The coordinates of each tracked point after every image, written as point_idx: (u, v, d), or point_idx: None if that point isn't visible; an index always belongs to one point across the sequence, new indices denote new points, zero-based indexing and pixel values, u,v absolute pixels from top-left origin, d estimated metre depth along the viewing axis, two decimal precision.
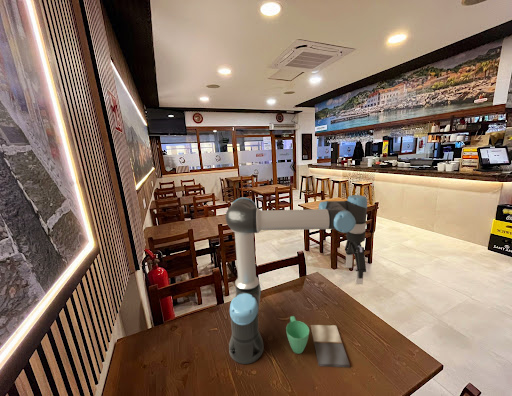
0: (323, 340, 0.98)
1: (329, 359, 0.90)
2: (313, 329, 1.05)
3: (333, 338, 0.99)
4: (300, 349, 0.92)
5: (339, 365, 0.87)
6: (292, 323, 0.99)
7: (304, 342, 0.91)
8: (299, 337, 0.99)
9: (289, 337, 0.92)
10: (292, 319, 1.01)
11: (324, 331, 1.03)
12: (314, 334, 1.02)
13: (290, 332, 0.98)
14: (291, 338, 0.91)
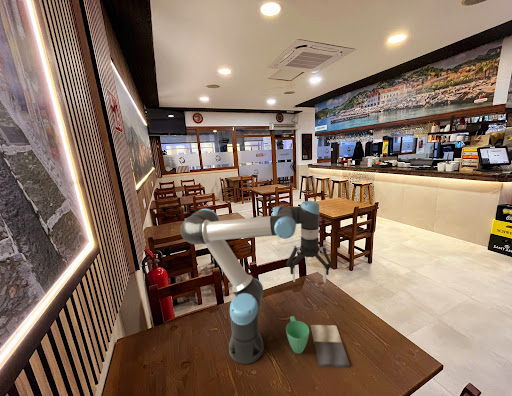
0: (323, 340, 0.98)
1: (329, 359, 0.90)
2: (313, 329, 1.05)
3: (333, 338, 0.99)
4: (300, 349, 0.92)
5: (339, 365, 0.87)
6: (292, 323, 0.99)
7: (304, 342, 0.91)
8: (299, 337, 0.99)
9: (289, 337, 0.92)
10: (292, 319, 1.01)
11: (324, 331, 1.03)
12: (314, 334, 1.02)
13: (290, 332, 0.98)
14: (291, 338, 0.91)
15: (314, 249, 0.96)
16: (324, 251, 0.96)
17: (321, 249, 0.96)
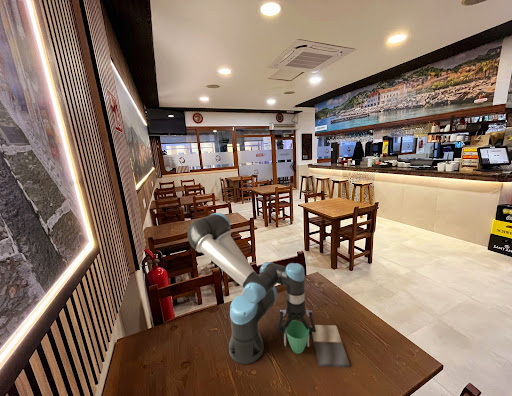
0: (323, 340, 0.98)
1: (329, 359, 0.90)
2: None
3: (333, 338, 0.99)
4: (300, 349, 0.92)
5: (339, 365, 0.87)
6: (292, 323, 0.99)
7: (304, 342, 0.91)
8: (299, 337, 0.99)
9: (289, 337, 0.92)
10: (292, 319, 1.01)
11: (324, 331, 1.03)
12: (314, 334, 1.02)
13: (290, 332, 0.98)
14: (291, 338, 0.91)
15: (301, 312, 0.94)
16: (310, 315, 0.94)
17: (307, 312, 0.94)
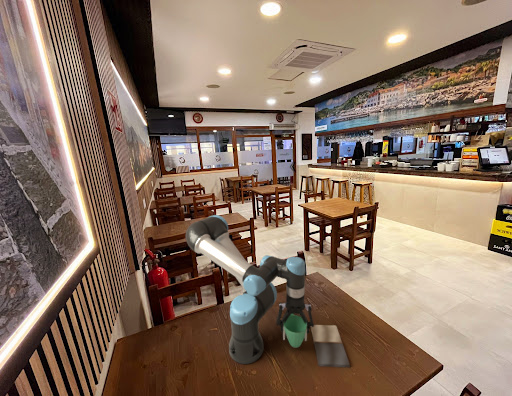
0: (323, 340, 0.98)
1: (329, 359, 0.90)
2: (313, 329, 1.05)
3: (333, 338, 0.99)
4: (297, 343, 0.92)
5: (339, 365, 0.87)
6: (290, 317, 0.99)
7: (301, 336, 0.91)
8: (297, 331, 0.99)
9: (286, 331, 0.92)
10: None
11: (324, 331, 1.03)
12: (314, 334, 1.02)
13: (288, 326, 0.98)
14: (288, 332, 0.91)
15: (300, 305, 0.93)
16: (309, 310, 0.93)
17: (307, 307, 0.94)
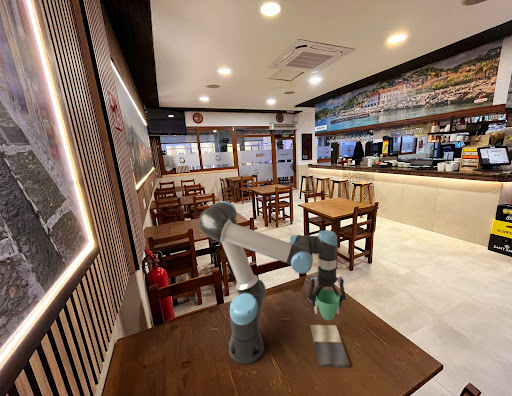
0: (323, 340, 0.98)
1: (329, 359, 0.90)
2: (313, 329, 1.05)
3: (333, 338, 0.99)
4: (331, 315, 0.93)
5: (339, 365, 0.87)
6: (321, 292, 1.00)
7: (335, 308, 0.92)
8: None
9: (320, 303, 0.93)
10: None
11: (324, 331, 1.03)
12: (314, 334, 1.02)
13: (319, 300, 0.99)
14: (322, 304, 0.92)
15: (332, 278, 0.95)
16: (341, 282, 0.95)
17: (339, 280, 0.95)
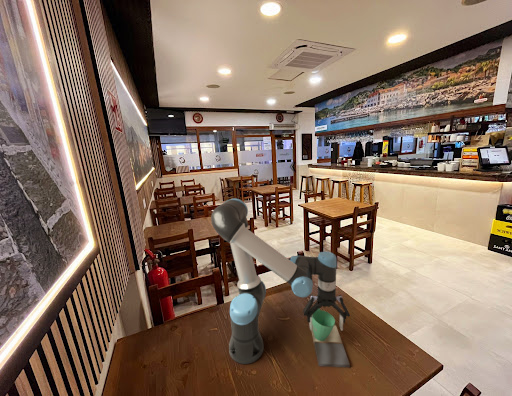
0: None
1: (329, 359, 0.90)
2: None
3: (333, 338, 0.99)
4: (324, 337, 0.96)
5: (339, 365, 0.87)
6: (317, 312, 1.02)
7: (329, 331, 0.95)
8: None
9: (316, 324, 0.95)
10: None
11: None
12: None
13: None
14: (318, 325, 0.95)
15: (331, 299, 0.97)
16: (341, 301, 0.97)
17: (338, 299, 0.97)
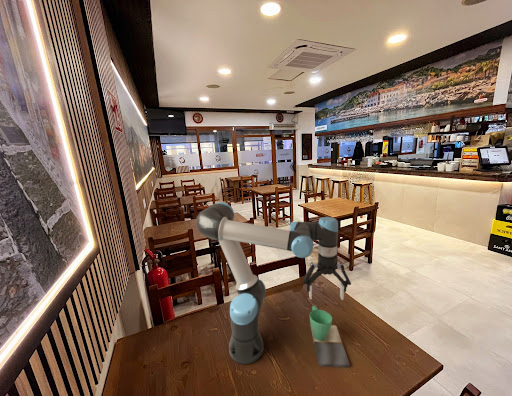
0: (323, 340, 0.98)
1: (329, 359, 0.90)
2: None
3: (333, 338, 0.99)
4: (323, 336, 0.96)
5: (339, 365, 0.87)
6: (315, 312, 1.03)
7: (327, 328, 0.95)
8: None
9: (313, 323, 0.96)
10: (314, 308, 1.05)
11: None
12: None
13: None
14: (315, 323, 0.95)
15: (332, 266, 0.94)
16: (342, 268, 0.93)
17: (339, 266, 0.94)
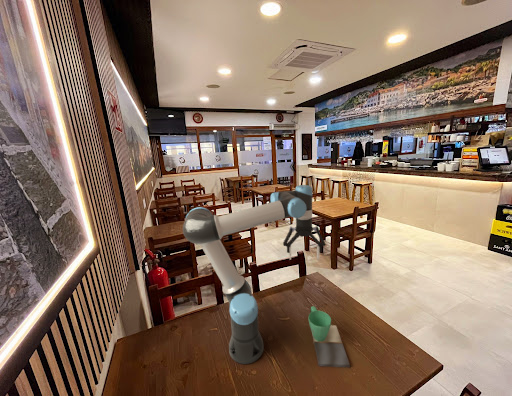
0: None
1: (329, 359, 0.90)
2: None
3: (333, 338, 0.99)
4: (322, 337, 0.96)
5: (339, 365, 0.87)
6: (313, 313, 1.03)
7: (326, 330, 0.95)
8: (320, 326, 1.02)
9: (312, 325, 0.96)
10: (313, 309, 1.05)
11: None
12: None
13: (312, 321, 1.02)
14: (314, 326, 0.95)
15: (308, 229, 1.05)
16: (317, 230, 1.05)
17: (314, 229, 1.06)
